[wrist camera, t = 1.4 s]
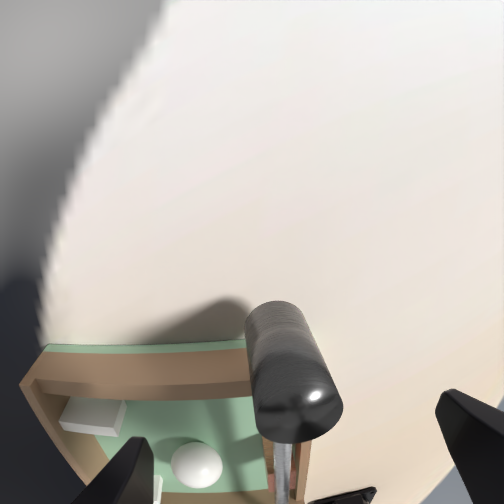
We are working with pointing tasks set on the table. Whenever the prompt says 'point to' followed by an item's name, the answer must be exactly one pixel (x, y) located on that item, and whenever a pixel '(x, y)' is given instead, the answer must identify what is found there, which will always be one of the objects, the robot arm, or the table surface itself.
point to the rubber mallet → (287, 389)
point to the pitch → (158, 413)
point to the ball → (196, 465)
